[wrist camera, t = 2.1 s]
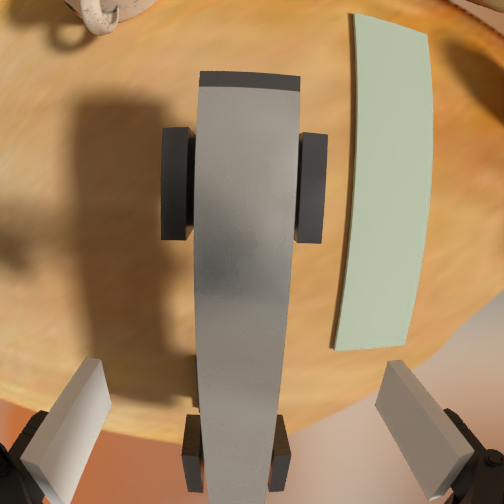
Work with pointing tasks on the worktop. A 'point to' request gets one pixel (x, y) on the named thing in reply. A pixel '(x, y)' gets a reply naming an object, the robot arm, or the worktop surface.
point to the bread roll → (491, 4)
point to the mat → (387, 184)
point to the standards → (179, 228)
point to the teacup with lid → (107, 12)
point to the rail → (242, 270)
